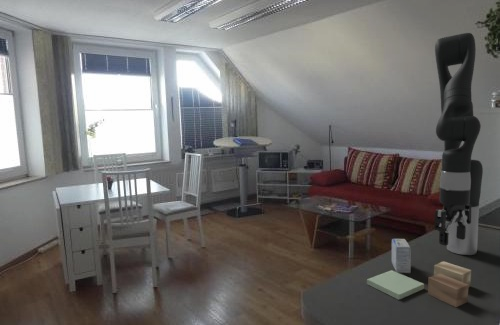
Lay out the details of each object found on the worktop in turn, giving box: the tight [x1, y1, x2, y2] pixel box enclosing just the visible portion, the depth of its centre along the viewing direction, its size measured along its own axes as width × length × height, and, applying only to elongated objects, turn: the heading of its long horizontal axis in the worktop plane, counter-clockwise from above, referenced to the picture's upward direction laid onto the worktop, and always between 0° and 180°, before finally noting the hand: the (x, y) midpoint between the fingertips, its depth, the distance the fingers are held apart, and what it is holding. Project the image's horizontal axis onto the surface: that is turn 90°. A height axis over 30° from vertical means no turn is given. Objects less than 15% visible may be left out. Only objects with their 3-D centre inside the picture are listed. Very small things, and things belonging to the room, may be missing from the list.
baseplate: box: [366, 269, 425, 300], centre depth 103 cm, size 11×11×2 cm
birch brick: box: [433, 261, 472, 288], centre depth 103 cm, size 5×8×5 cm, turn 33°
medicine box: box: [390, 238, 412, 274], centre depth 115 cm, size 8×4×9 cm, turn 168°
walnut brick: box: [427, 274, 469, 308], centre depth 96 cm, size 5×8×5 cm, turn 28°
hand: (452, 241), depth 102 cm, fingers open, 8 cm apart
